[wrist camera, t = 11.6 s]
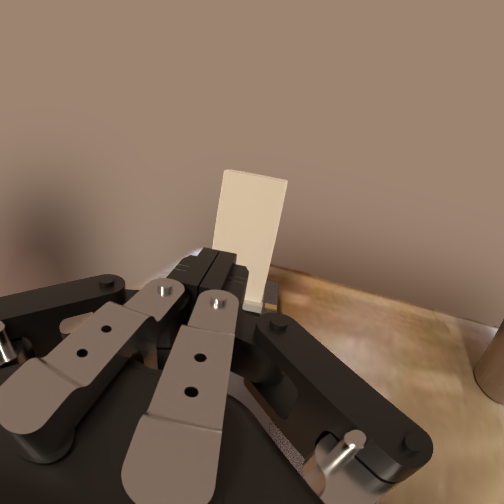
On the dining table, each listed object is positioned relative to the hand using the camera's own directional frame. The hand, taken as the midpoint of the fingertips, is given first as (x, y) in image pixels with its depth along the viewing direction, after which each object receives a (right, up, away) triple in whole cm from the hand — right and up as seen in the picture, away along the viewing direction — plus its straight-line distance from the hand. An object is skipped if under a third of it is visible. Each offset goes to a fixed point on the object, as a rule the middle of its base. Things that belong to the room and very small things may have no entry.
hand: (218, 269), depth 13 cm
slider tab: (0, -4, +18) cm, 19 cm away
